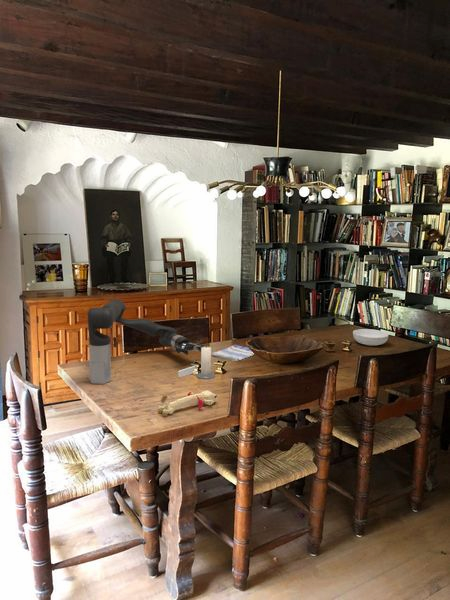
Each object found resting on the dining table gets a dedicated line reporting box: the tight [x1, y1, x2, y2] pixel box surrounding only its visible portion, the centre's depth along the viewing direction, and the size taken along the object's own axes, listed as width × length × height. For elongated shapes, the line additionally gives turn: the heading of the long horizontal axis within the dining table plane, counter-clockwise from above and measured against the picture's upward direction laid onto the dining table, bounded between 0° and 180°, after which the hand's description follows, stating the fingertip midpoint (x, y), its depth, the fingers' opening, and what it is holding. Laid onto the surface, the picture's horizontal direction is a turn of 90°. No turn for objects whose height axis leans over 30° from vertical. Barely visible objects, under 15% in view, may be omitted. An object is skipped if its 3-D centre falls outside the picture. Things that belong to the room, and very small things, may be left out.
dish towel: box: [211, 344, 255, 362], centre depth 267 cm, size 17×24×3 cm
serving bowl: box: [352, 328, 390, 347], centre depth 296 cm, size 21×21×7 cm
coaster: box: [195, 372, 216, 380], centre depth 230 cm, size 9×9×1 cm
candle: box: [200, 345, 212, 376], centre depth 229 cm, size 5×5×14 cm
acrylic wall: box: [177, 365, 201, 378], centre depth 234 cm, size 1×20×3 cm, turn 140°
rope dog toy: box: [157, 390, 218, 417], centre depth 191 cm, size 10×9×25 cm
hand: (195, 351), depth 237 cm, fingers open, 8 cm apart
